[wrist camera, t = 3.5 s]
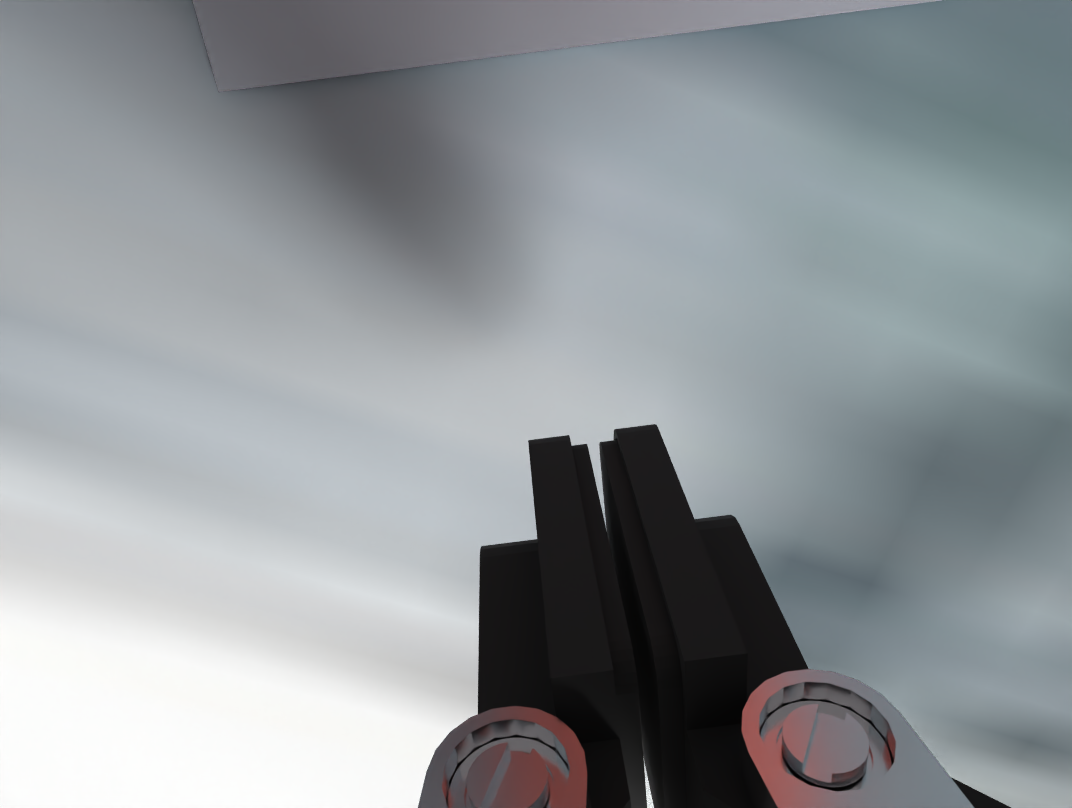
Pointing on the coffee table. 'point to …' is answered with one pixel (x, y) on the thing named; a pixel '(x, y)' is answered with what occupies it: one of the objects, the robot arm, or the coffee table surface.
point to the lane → (451, 30)
